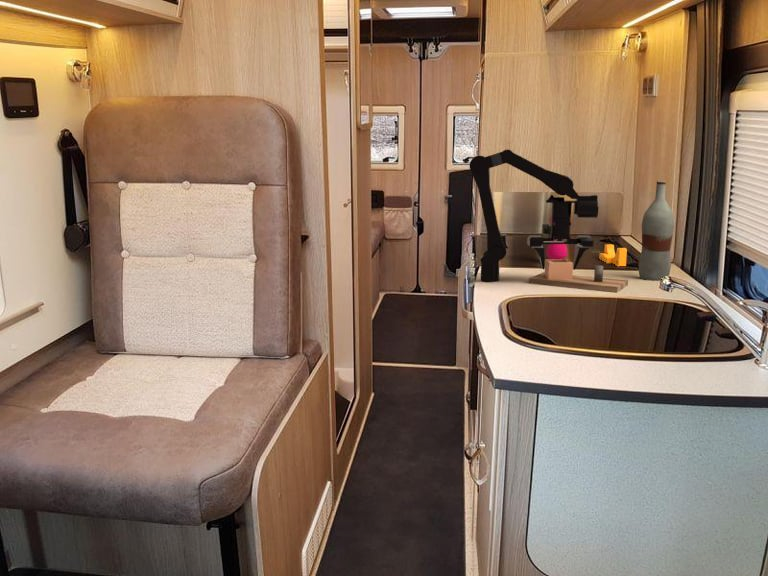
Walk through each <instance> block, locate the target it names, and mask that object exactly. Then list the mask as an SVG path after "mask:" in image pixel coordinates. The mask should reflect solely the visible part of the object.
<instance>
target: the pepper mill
mask: <svg viewBox="0 0 768 576" xmlns="http://www.w3.org/2000/svg"><path fill="white" fill-rule="evenodd" d="M549 225H551V216H550V218H549ZM556 240H558V239H555V240H553V241H556ZM562 240H565V239H562ZM566 245H567V244H548V246H547V248H546V253H545V254H546V257H548V259H566V258H567V257H568V248H567V246H566Z"/></svg>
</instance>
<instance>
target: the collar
mask: <svg viewBox="0 0 768 576" xmlns="http://www.w3.org/2000/svg"><path fill="white" fill-rule="evenodd" d="M544 260H545V267H544V272H545V274H544V275H545V276H546V277H547V278H548V279H571V280H572V276H573V275H574V269H573V262H572V261H571V260H570V259H566V258H565V259H549V258H548V259H546V258H544Z"/></svg>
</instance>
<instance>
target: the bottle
mask: <svg viewBox="0 0 768 576" xmlns="http://www.w3.org/2000/svg"><path fill="white" fill-rule="evenodd" d="M655 185H656V187H655V196H654V198H655V199H654V200H653V201H652V203H650V204H649V206H648V208H647V209H646V210H645V211H644V214H643V217H642V221H641V252H640V256H639V260H638V274H639V275H638V276H639V278H640V279H642V280H646V281H662V280H661V278H663V277H665V276H670V273H671V269H672V258H671V256H672V255H671V247H672V242H673V241H672V240H673V236H674V235H673V234H674V230H675V216H674V213H673V210H672V209H671V207H670V205H669V204H668V202H667V200H666V189H667V188H666V185H667V181H666V180H657V181H656V184H655Z"/></svg>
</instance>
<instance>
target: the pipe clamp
mask: <svg viewBox="0 0 768 576" xmlns="http://www.w3.org/2000/svg"><path fill="white" fill-rule="evenodd" d="M627 250H628V249H627V248H626V247H617V248H616V252H615V245H614V244H612V243H610V244H604V253H603V252H599V255H598V257H599V259H600V261H601V260H602V261H601V262H603V261H604V262H603V263H605V262H606V263H605V264H612V263H613V264H612V265H614V264H615V266H617V267H618V268H619V266H627V254H628V253H627V252H628V251H627ZM599 259H598V260H599Z"/></svg>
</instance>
